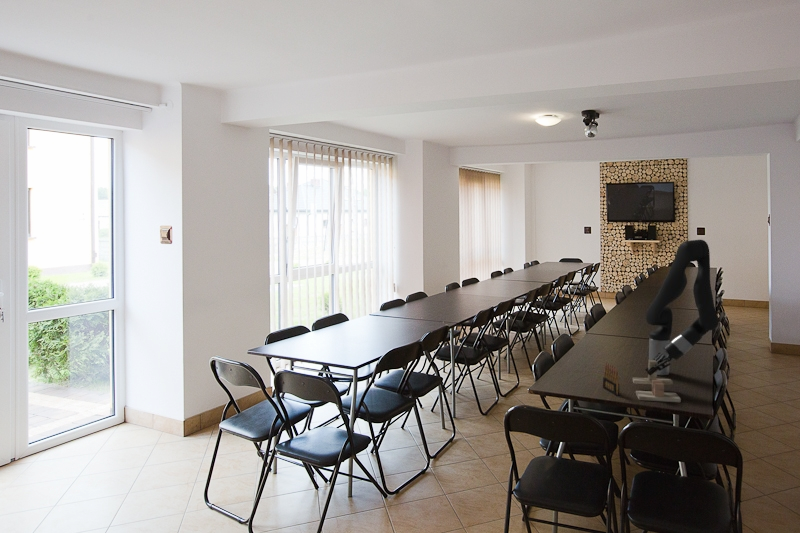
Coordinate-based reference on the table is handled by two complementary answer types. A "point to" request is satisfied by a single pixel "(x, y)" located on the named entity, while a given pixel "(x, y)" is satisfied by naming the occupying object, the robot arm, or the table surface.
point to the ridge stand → (658, 393)
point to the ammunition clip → (611, 379)
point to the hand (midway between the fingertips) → (647, 372)
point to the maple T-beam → (651, 376)
